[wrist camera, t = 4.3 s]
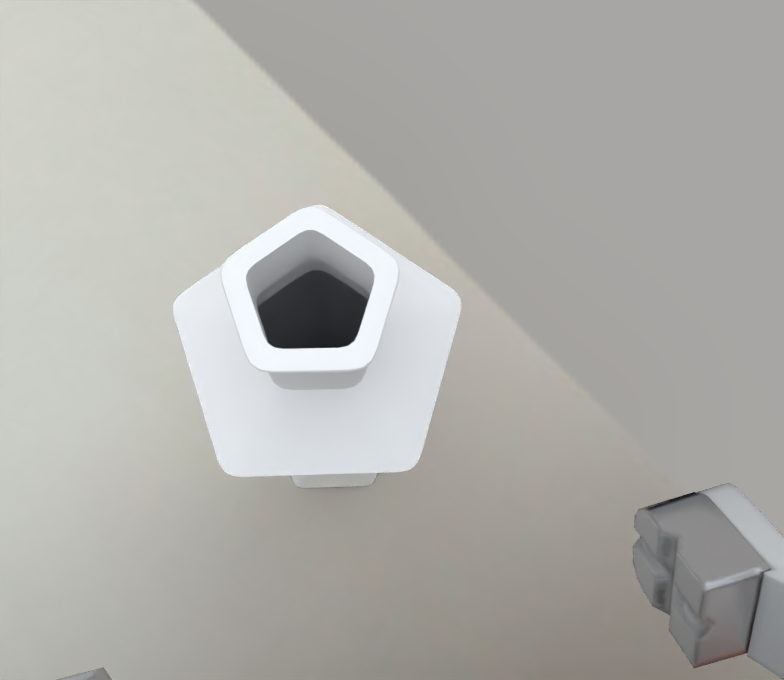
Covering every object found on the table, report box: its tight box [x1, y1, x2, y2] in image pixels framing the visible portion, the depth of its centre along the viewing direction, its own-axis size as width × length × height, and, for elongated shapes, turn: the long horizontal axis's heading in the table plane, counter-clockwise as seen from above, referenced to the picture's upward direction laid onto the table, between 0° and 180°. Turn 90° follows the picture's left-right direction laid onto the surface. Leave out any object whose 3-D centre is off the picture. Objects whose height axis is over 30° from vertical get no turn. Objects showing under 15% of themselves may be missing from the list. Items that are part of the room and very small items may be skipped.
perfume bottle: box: [173, 205, 461, 488], centre depth 16 cm, size 5×4×15 cm
